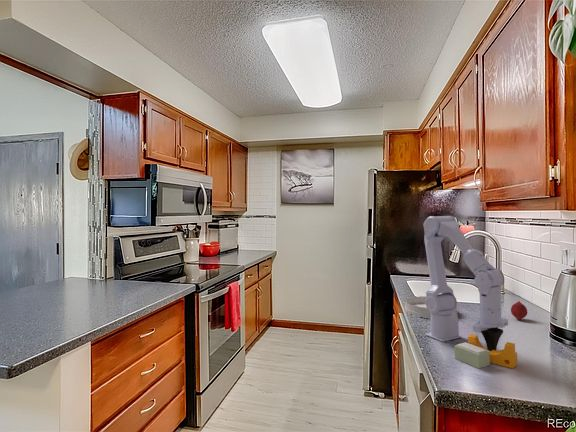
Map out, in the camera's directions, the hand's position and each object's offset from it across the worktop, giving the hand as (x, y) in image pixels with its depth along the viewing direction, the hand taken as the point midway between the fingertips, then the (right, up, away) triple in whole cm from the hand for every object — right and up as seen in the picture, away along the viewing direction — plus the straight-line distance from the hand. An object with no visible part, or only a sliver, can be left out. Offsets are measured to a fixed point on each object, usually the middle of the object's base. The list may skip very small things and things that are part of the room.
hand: (491, 351), depth 108 cm
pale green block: (-8, -2, -3) cm, 9 cm away
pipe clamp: (-1, -2, -3) cm, 3 cm away
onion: (+33, -1, +37) cm, 50 cm away
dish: (+1, -2, +49) cm, 49 cm away
